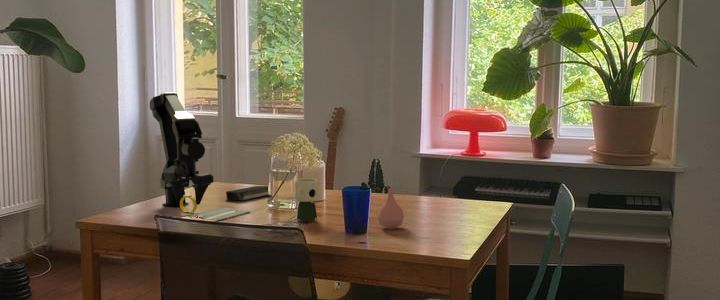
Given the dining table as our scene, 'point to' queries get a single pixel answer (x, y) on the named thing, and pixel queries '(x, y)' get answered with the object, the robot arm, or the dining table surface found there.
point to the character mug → (306, 198)
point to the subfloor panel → (219, 213)
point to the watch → (191, 199)
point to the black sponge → (247, 193)
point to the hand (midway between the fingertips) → (188, 202)
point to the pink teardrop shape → (390, 212)
